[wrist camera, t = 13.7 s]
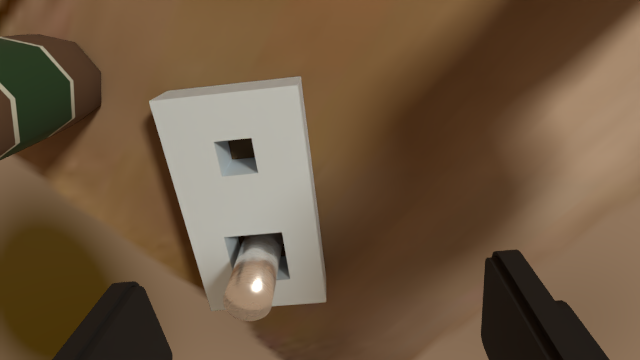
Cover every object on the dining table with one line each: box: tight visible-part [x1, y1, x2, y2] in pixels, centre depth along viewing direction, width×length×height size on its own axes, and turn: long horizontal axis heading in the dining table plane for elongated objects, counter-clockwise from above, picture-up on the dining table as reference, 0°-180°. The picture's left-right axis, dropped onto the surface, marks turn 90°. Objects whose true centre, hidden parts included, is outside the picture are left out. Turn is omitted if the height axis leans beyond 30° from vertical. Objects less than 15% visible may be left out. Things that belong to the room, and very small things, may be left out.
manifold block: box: [149, 76, 326, 311], centre depth 37 cm, size 12×22×4 cm, turn 6°
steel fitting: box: [223, 232, 283, 321], centre depth 36 cm, size 4×4×10 cm
